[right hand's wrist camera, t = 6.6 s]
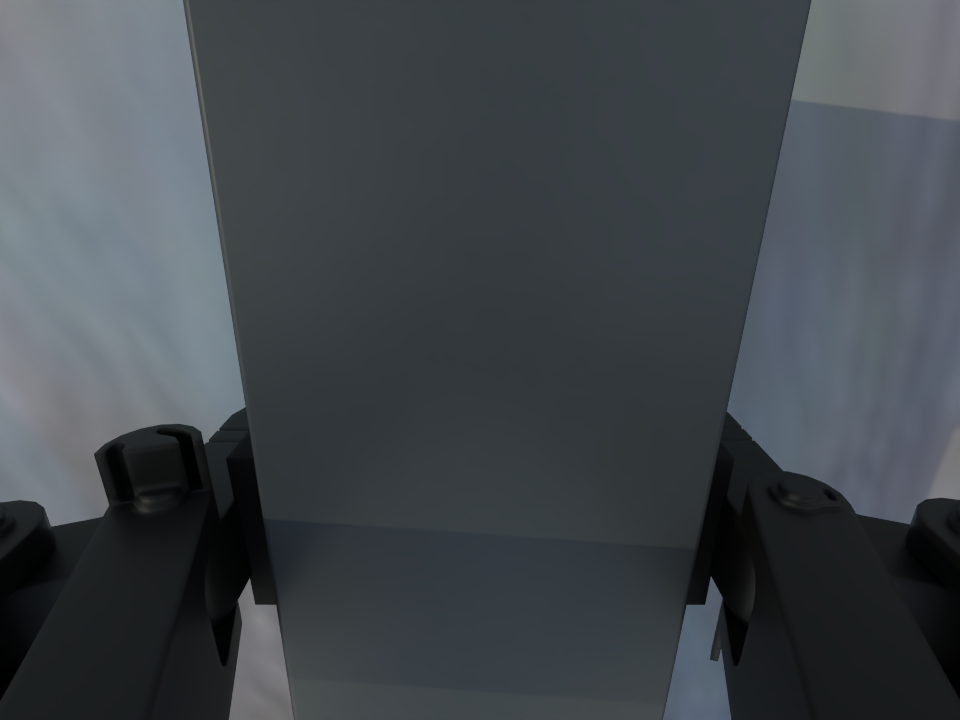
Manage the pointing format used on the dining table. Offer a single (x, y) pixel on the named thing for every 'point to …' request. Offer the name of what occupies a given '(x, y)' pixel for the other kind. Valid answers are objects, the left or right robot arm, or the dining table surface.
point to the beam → (488, 328)
